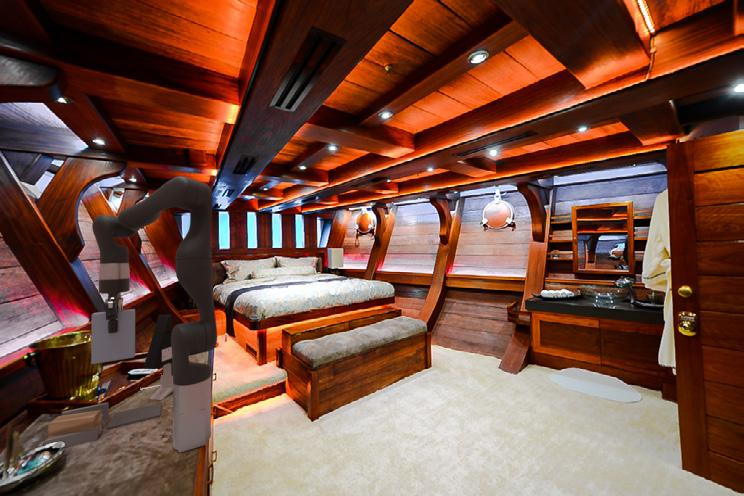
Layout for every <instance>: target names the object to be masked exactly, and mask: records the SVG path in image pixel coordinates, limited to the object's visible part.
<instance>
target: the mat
mask: <svg viewBox="0 0 744 496" xmlns="http://www.w3.org/2000/svg"><path fill="white" fill-rule="evenodd" d="M162 405H163V402H158V403H154V404H148V405H145V406H140V407H136V408H131V409H126V410H123V411H118V412H114V413H113V414H112V416H111V419H110V420H109V423H108V425H107V427H106V430H107V431H108V430H112V429H115V428H116V429H117V428H120V427H125V426H129V425H132V424H137V423H141V422H145V421H149V420H152V419H156V418H160V417H161V411H162V407H163V406H162Z"/></svg>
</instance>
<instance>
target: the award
mask: <svg viewBox="0 0 744 496" xmlns="http://www.w3.org/2000/svg"><path fill="white" fill-rule="evenodd" d="M172 319H173V318H172V315H171V314H159V315H158V317H157V319H156V323H155V327H154V328H153V329H154V330H153V334H152V337H151V340H150V344H149V348H148V350H147V353H146V357H145V361H144V365H143V369H145V370H147V369H148V370H156V369H159V368H161V367H162V373H163V375H161V376H160V385H161V386H160V387H158V388H157V390H156V391H155V392H154V393H153V394H152V396H150V397H149V400H158V401H159V400H160V401H162V400H164V399H165V398H166V397H168V396H169V394H171V393H173V371H172V348H171V334H172V330H173V327H172V325H173V324H172Z"/></svg>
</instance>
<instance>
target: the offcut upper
mask: <svg viewBox="0 0 744 496" xmlns="http://www.w3.org/2000/svg"><path fill="white" fill-rule="evenodd" d="M101 422H102V410H98V411H91V412H84V413H78V414H71V415H64V416H62V415H59V416H57V417H56V418H54V419H53V420H52V421H50V422H49V423H48V429H47V430H48V433H47V434H48V437H49V436H55V435H61V434H68V433H74V432H80V431H86V430H92V429H95V428H96V427H97V426H98V425H99V424H100V423H101Z"/></svg>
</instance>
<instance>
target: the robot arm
mask: <svg viewBox="0 0 744 496" xmlns="http://www.w3.org/2000/svg"><path fill="white" fill-rule="evenodd" d="M213 200H214V199H213V192H212V189H211V187H210V186H209V185H208V184H206V183H205V182H202V181H199V180H195V179H193V178H190V177H187V176H176V177H173V178H172V179H170V180H168V181H166V182H165V183H164V184H163V185H161V187H159V188H157V189H156V190H155V191H153V193H150V195H149V196H146V198H145V199H142V200H141V201H139V202H138V203H135V204H133V205H130V206H129V207H127V208H125V209H123V210H122V211H120V212H119V214H118V215H116V216H115V215H108V214H100V215H98V216H97V217H95V218H94V219H93V221H92V227H91V228H92V233H93V235H94V237H95V240H96V243H97V247H98V250H99V268H98V294H101V295H102V294H105V295H106V294H107V298H105V301H104V308H105V312H106V320H107V321H108V333H116V332H117V331H118V319H119V318H118V313H120V312H121V310H123V309H124V307H123V306H124V305H123V303H124V297H122V293H127V292H129V291H130V290H131V289H130V285H131V283H130V282H131V278H130V277H131V276H130V273H131V272H130V264H129V262H130V261H129V259H130V258H129V255H130V254H129V253H130V252H129V248H128V246H126V245H123V244H118V243H117V242H116V241H115V239H127V238H131V237H133V236H135V234H137V233H138V232H139V231H140V230H141V229H142V228H145V227H147V226H149V225H151V224H153V223H155V222H156V221H158V219H159V218H160V217H161V214H162V212H163V211H164V210H168V209H171V208H178V209H182V210H188V211H189V217H190V218H189V228H188V231H187V233H186V235H185V237H184V238H183V240H182V241H181V242H180V244H179V246H178V248H177V250H176V253H175V277H176V278H177V280H178V282H179V285H180V286H181V287H182V288H183V289H184V290H185V292H186V293H187V294H188V295H189V297H190V298H191V299H192V300H193V302H194V304H195V305H196V308H197V310H198V315H199V320H194V321H189V322H183V323H178V324H176V325H175V326H174V327H172V331H171V332H172V334H171V348H172V371H173V391H172V448H173V449H174V450H176V451H178V453H183V452H187V451H191V450H193V449H196V448H199V447H203V446H206V444H207V442H208V441H209V440H210V439H211V436H212V368H211V366H210V365H209V364H207V363H203V362H192V361H191V360H190V357H191V356H195V355H199V354H204V353H207V352H211V351H213V350H214V349H215V348H216V346H217V343H218V328H217V320H216V318H217V317H216V312H215V311H216V310H215V303H214V290H213V286H214V285H213V255H212V253H213V252H212V219H213V218H212V217H213V216H212V215H213V206H214V205H213ZM111 313H114V316H110V314H111Z"/></svg>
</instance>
